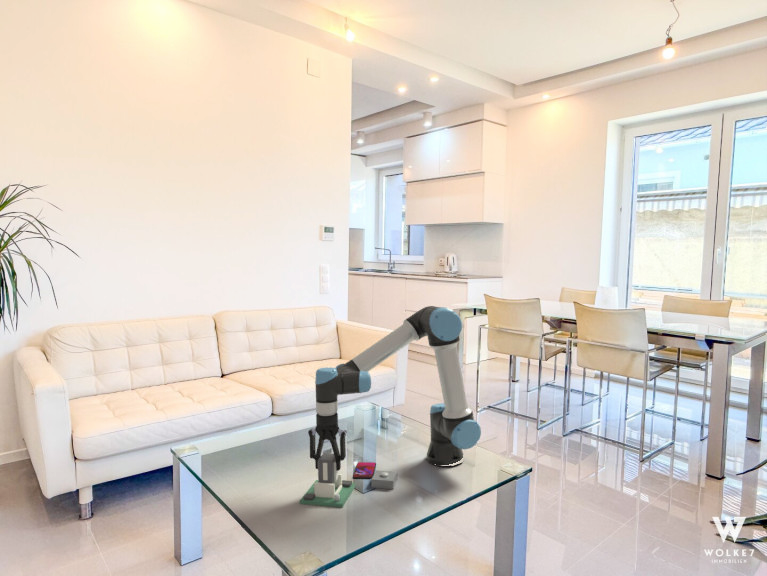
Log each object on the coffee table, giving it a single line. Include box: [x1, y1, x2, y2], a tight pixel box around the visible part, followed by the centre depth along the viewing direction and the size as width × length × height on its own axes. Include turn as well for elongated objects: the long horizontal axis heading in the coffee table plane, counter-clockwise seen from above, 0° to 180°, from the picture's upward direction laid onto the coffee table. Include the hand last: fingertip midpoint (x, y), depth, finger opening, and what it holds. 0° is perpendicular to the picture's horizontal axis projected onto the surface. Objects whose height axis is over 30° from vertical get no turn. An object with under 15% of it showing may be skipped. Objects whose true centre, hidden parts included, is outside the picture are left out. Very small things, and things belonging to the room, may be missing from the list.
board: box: [299, 473, 356, 508], centre depth 169 cm, size 15×16×6 cm
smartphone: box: [352, 461, 377, 480], centre depth 189 cm, size 8×1×15 cm
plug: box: [317, 452, 335, 484], centre depth 168 cm, size 5×6×8 cm
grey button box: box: [370, 469, 398, 490], centre depth 177 cm, size 8×8×4 cm
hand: (328, 478), depth 169 cm, fingers closed on plug, 5 cm apart
